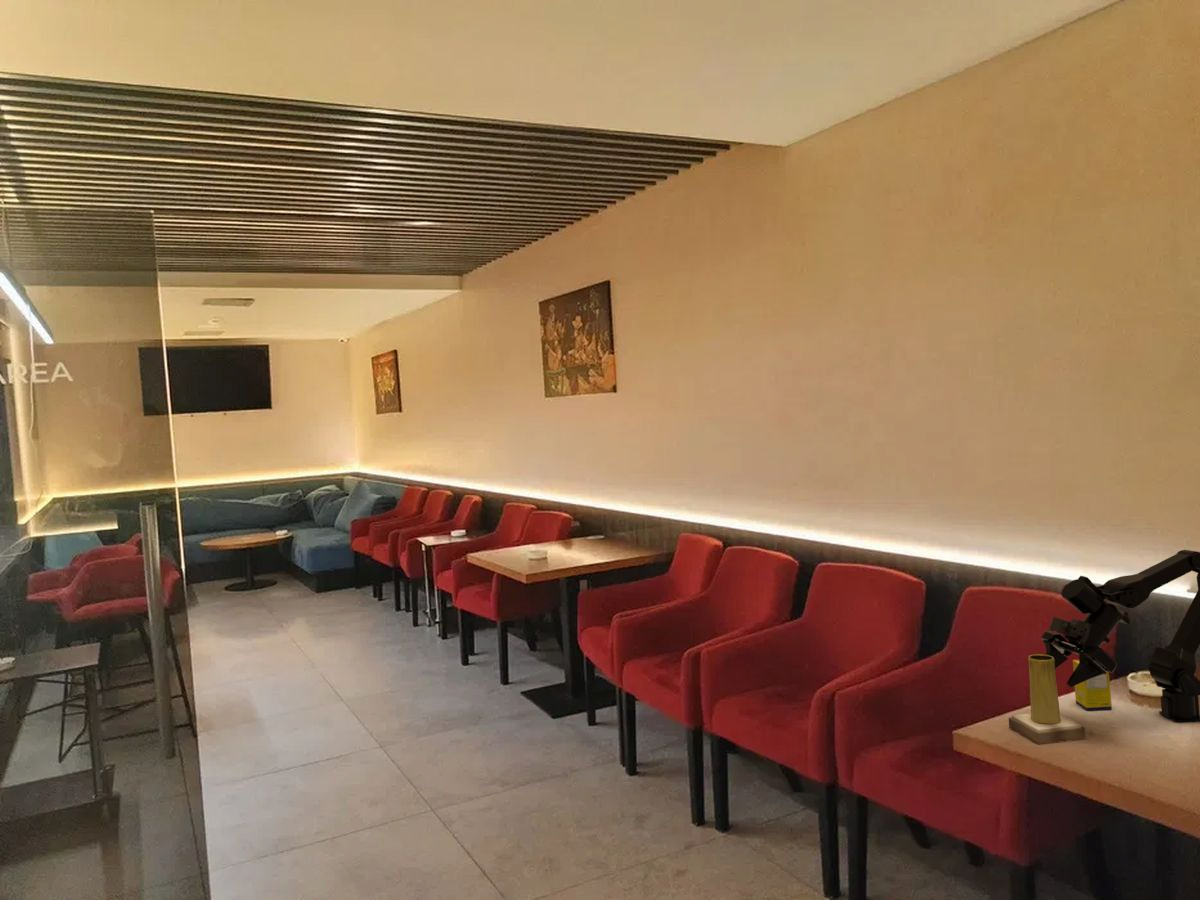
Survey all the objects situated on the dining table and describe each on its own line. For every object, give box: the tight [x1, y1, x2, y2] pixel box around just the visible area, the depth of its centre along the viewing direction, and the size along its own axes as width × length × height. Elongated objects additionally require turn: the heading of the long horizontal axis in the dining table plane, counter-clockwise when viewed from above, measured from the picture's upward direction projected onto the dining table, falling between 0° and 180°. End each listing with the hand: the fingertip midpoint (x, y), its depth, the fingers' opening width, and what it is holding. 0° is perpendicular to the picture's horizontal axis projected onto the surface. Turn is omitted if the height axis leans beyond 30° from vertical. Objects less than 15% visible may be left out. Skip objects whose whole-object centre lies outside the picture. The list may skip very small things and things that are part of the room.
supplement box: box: [1072, 659, 1113, 712], centre depth 206 cm, size 6×6×11 cm
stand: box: [1008, 712, 1086, 745], centre depth 192 cm, size 11×11×3 cm
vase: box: [1027, 653, 1061, 724], centre depth 192 cm, size 6×6×14 cm
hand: (1055, 680), depth 192 cm, fingers open, 9 cm apart
